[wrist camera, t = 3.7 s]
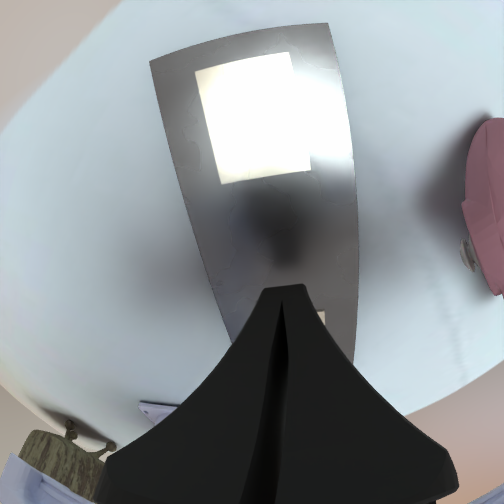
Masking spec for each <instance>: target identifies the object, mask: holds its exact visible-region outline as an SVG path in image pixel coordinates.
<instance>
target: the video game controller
mask: <svg viewBox="0 0 504 504" xmlns="http://www.w3.org/2000/svg"><path fill="white" fill-rule="evenodd" d="M461 206H462V211H463V215H464V218H465V222H466V225H467V228H468V231H469V246H468V244H467V242H466V240H465V239H463V238H462V239H461V245H460V254H461V257H462V260H463V262H464V264H465V265H466V266H467V268H468V269H470V271H472V272H474V271H475V265H474V262H475V263H476V264H477V265H478V267H479V268H481V271H482V272H483V273H484V275H485V278H486V280H487V283H488V285H489V288H490V289H491V291H492V293H493V294H494V296H497V295H500V294H502V295H503V298H504V118H492V119H489V120H487V121H485V122H484V123H483V124H482V125H481V126H480V127H479V129H478V130H477V132H476V133H475V135H474V138H473V140H472V143H471V146H470V149H469V152H468V156H467V162H466V175H465V200H464V201H463V202H462V205H461Z"/></svg>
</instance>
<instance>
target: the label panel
mask: <svg viewBox="0 0 504 504" xmlns="http://www.w3.org/2000/svg"><path fill="white" fill-rule="evenodd" d="M149 63H150V68H151V72H152V77H153V82H154V86H155V91H156V95H157V99H158V104H159V108H160V112H161V116H162V120H163V124H164V128H165V132H166V136H167V140H168V144H169V148H170V152H171V155H172V159H173V163H174V166H175V170H176V174H177V177H178V181H179V184H180V188H181V191H182V195H183V198H184V202H185V205H186V208H187V212H188V215H189V218H190V222H191V225H192V228H193V231H194V235H195V238H196V241H197V244H198V247H199V250H200V254H201V257H202V260H203V263H204V266H205V269H206V272H207V275H208V278H209V281H210V284H211V287H212V290H213V292H214V295H215V298H216V301H217V304H218V307H219V310H220V312H221V315H222V318H223V321H224V324H225V326H226V329H227V332H228V334H229V337H230V340H231V342H232V344H233V342H234V341H235V339H236V338H237V336H238V335H239V333H240V331H241V330H242V328H243V326H244V324H245V323H246V321H247V319H248V318H249V316H250V314H251V312H252V310H253V308H254V306H255V304H256V302H257V300H258V298H259V296H260V294H261V291H262V290H263V289H264V288H268V287H277V286H285V285H293V284H301V283H303V284H304V285H305V286H306V288H307V292H308V294H309V297H310V299H311V301H312V303H313V305H314V307H315V309H316V311H317V313H318V315H319V317H320V318H321V320H322V322H323V323H324V325H325V327H326V328H327V330H328V331H329V333H330V334H331V336H332V337H333V339H334V340H335V342H336V343H337V345H338V346H339V347H340V349H341V350H342V351H343V353H344V354H345V355H346V357H347V358H348V359H349V361H350V362H351V363H352V364H353V360H354V350H355V339H356V325H357V308H358V279H359V240H358V211H357V194H356V181H355V169H354V159H353V150H352V142H351V134H350V127H349V120H348V113H347V107H346V101H345V96H344V90H343V85H342V80H341V75H340V70H339V65H338V61H337V57H336V52H335V48H334V44H333V40H332V36H331V33H330V29H329V25H328V23H316V24H302V25H291V26H283V27H275V28H268V29H262V30H256V31H251V32H245V33H240V34H236V35H231V36H227V37H223V38H219V39H215V40H211V41H207V42H204V43H200V44H197V45H194V46H190V47H187V48H184V49H181V50H178V51H175V52H172V53H170V54H167V55H164V56H162V57H159V58H156V59H154V60H151V61H149Z"/></svg>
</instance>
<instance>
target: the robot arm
mask: <svg viewBox="0 0 504 504" xmlns="http://www.w3.org/2000/svg"><path fill="white" fill-rule="evenodd" d="M138 408H139V409H140V410H141V411H142V412H143V413H144V414H145V415H146V416H147V417H148V418H149V419H150V420H151V421H152V422H153V423H154V424H155V425H154V427H153V428H152V429H151V430H149V431H148V432H147V433H145V434H144V435H142V436H141V437H139V438H138V439H136V440H135V441H133V442H131V443H130V444H128V445H127V446H125V447H123V448H122V449H120V450H119V451H117V452H115V453H113V454H112V455H110V456H108V457H107V459H106V461H105V464H104V466H103V469H102V472H101V475H100V478H99V481H98V484H97V487H96V490H95V493H94V496H93V500H94V501H95V503H97V504H436V500H438V499H441V498H443V497H445V496H447V495H449V494H452V493H454V492H456V491H457V489H458V488H459V483H458V477H457V473H456V470H455V467H454V464H453V462H452V460H451V457H450V455H449V453H448V451H447V450H446V449H445V448H444V447H442V446H441V445H440V444H438V443H437V442H435V441H434V440H433V439H431V438H430V437H429V436H427V435H426V434H425V433H423V432H422V431H421V430H419V429H418V428H417V427H416V426H414V425H413V424H412V423H411V422H409V421H408V420H407V419H406V418H405V417H404V416H403V415H401V414H400V413H399V412H398V411H397V410H396V409H395V408H394V407H393V406H392V405H391V404H389V403H388V402H387V401H386V400H385V399H384V398H383V397H382V396H381V395H380V394H379V393H378V392H377V391H376V390H375V389H374V388H373V387H372V386H371V385H370V384H369V383H368V381H367V380H366V379H365V378H364V377H363V376H362V375H361V374H360V373H359V371H358V370H357V369H356V368H355V367H354V365H353V364H352V363H351V362H350V361H349V359H348V358H347V357H346V355H345V354H344V353H343V351H342V350H341V349H340V347H339V346H338V345H337V343H336V342H335V340H334V339H333V337H332V336H331V334H330V333H329V331H328V330H327V328H326V327H325V325H324V323H323V322H322V320H321V318H320V317H319V315H318V313H317V311H316V309H315V307H314V305H313V303H312V301H311V299H310V297H309V294H308V292H307V288H306V286H305V285H304V284H303V283H301V284H293V285H285V286H277V287H268V288H264V289H263V290H262V291H261V294H260V296H259V298H258V300H257V302H256V304H255V306H254V308H253V310H252V312H251V314H250V316H249V318H248V319H247V321H246V323H245V324H244V326H243V328H242V330H241V331H240V333H239V335H238V336H237V338H236V339H235V341H234V342H233V344H232V345H231V346H230V348H229V349H228V351H227V352H226V354H225V355H224V357H223V358H222V359H221V361H220V362H219V363H218V364H217V366H216V367H215V368H214V369H213V371H212V372H211V373H210V374H209V375H208V377H207V378H206V379H205V380H204V381H203V382H202V383H201V385H200V386H199V387H198V388H197V389H196V390H195V391H194V392H193V393H192V394H191V395H190V396H189V397H188V398H187V399H186V400H185V401H184V402H183V403H182V404H181V405H180V406H179V407H173V406H164V405H156V404H148V403H139V405H138ZM0 502H1V503H2V504H94V503H92V502H90V501H88V500H86V499H85V498H83V497H81V496H79V495H77V494H75V493H73V492H72V491H70V489H69V488H67V487H66V486H64V485H62V484H61V483H59V482H57V481H56V480H54V479H53V478H51V477H49V476H47V475H46V474H44V473H41V472H40V471H38V470H37V469H35V468H33V467H32V466H30V465H29V464H28V463H26V462H25V461H24V460H22V459H21V458H19V457H18V456H16V455H15V454H14V453H10V456H9V458H8V460H7V463H6V465H5V468H4V470H3V473H2V475H1V478H0ZM468 504H504V483H503V484H501V485H500V486H498V487H497V488H495V489H493V490H492V491H490V492H488V493H487V494H485V495H483V496H481V497H479V498H477V499H476V500H474V501H472V502H470V503H468Z"/></svg>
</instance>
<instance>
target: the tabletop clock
mask: <svg viewBox="0 0 504 504" xmlns="http://www.w3.org/2000/svg"><path fill="white" fill-rule="evenodd" d="M65 427H66V428H67V431H66V435H65V438H64V437H62V436H60V435H56V434H53V433H50V432H45V431H41V430H33V431H32V432H31V433H30V435H29V436H28V438H27V439H26V441H25V443H24V445H23V447H22V450H21V451H20V453H19V456H18V457H19V458H21V459H22V460H24V461H25V462H26V463H28V464H29V465H30V466H32V467H33V468H35V469H37V470H38V471H40V472H41V473H44V474H46V475H47V476H49V477H51V478H53V479H54V480H56V481H57V482H59V483H61V484H62V485H64V486H66V487H67V488H69V489H70V491H72V492H73V493H75V494H77V495H79V496H81V497H83V498H85V499H86V500H88V501H90V502H92V503H94V504H97V503H95V501H94V500H93V496H94V493H95V490H96V487H97V484H98V481H99V478H100V475H101V472H102V469H103V466H104V464H105V463H104V462H103V461H101V460H99V459H98V458H99V457H100V456H101V455H103V454H104V453H106V452H107V451H110V452H114V451H116V445H115V444H114V443H113V442H108V443H107V444H106V448H104V449H102V450H100V451H97V452H86V451H85V450H83V449H82V448H80V447H79V446H77V445H76V444H74V443H73V442H72V440H74V439H77V437H78V436H77V433H76V432H74V431H71V432H70V430H73V429H74V423H73V422H72V421H70V420H67V421H65Z"/></svg>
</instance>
